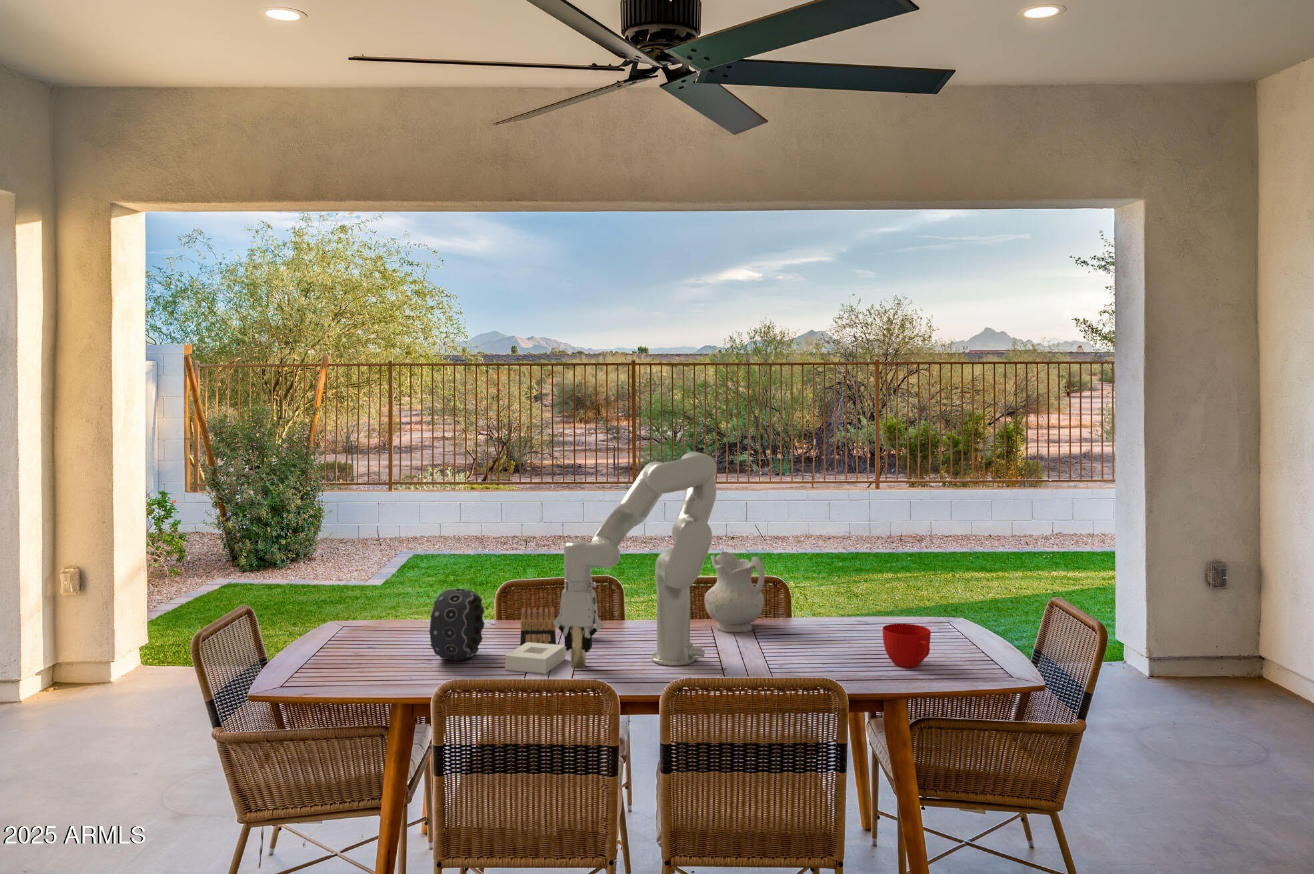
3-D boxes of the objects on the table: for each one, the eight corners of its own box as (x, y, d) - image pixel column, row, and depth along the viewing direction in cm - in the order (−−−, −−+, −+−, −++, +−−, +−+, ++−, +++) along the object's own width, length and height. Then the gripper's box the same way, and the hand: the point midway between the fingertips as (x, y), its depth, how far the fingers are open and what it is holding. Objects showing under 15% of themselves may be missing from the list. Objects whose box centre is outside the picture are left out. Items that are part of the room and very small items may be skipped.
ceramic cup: (906, 677, 228) (907, 640, 228) (873, 660, 244) (873, 625, 244) (948, 673, 231) (949, 637, 231) (913, 656, 248) (913, 622, 247)
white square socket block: (565, 659, 245) (565, 645, 245) (545, 673, 232) (545, 659, 232) (527, 655, 249) (527, 642, 249) (505, 669, 235) (505, 655, 235)
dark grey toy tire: (427, 668, 237) (426, 596, 236) (451, 648, 257) (451, 582, 256) (464, 669, 236) (464, 597, 235) (486, 649, 256) (486, 582, 255)
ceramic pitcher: (779, 630, 281) (781, 554, 282) (753, 639, 264) (756, 558, 265) (721, 622, 292) (723, 549, 293) (693, 630, 276) (695, 552, 277)
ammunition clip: (520, 647, 258) (519, 607, 257) (520, 645, 259) (520, 606, 259) (555, 646, 258) (555, 607, 258) (556, 645, 260) (556, 606, 259)
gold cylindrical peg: (587, 664, 240) (587, 622, 240) (582, 668, 236) (582, 625, 236) (574, 663, 241) (574, 621, 241) (569, 667, 238) (568, 624, 237)
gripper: (611, 584, 239) (611, 649, 240) (555, 581, 244) (555, 644, 245) (602, 590, 232) (602, 656, 233) (544, 586, 237) (544, 651, 238)
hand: (578, 649), depth 239 cm, fingers open, 4 cm apart
